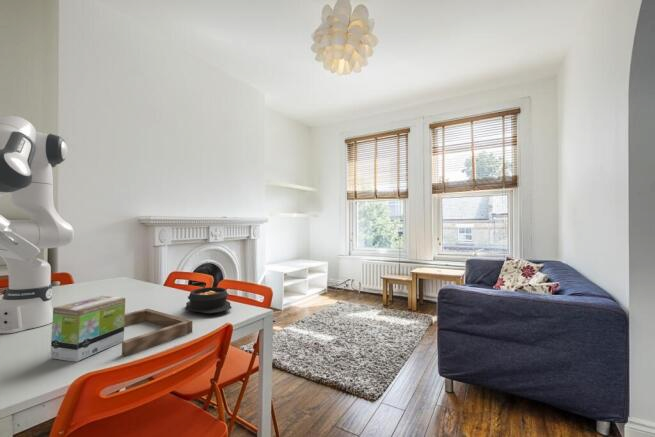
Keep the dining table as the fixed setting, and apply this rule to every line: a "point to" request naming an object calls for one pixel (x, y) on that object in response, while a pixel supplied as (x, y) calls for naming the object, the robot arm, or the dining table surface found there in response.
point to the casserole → (208, 300)
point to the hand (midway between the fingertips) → (37, 265)
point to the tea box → (87, 327)
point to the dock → (171, 331)
